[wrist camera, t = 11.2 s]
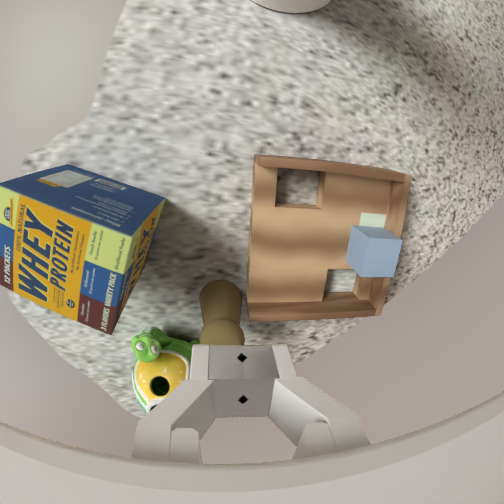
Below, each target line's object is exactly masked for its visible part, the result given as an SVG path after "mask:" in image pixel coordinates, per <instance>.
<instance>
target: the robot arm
mask: <svg viewBox="0 0 504 504" xmlns="http://www.w3.org/2000/svg"><path fill="white" fill-rule="evenodd" d="M252 1H253V2H255V3H257V4H259V5H261V6H264V7H266V8H269V9H272V10H276V11H281V12H287V13H304V12H310V11H314V10H317V9H320V8H322V7H324V6H325V5H327V4H328V3H329V2H330V1H331V0H252ZM263 416H269V417H268V418H269V419H270V420H271V421H272V422H273V423H274V424H275V425H276V426H277V427H278V428H279V429H280V430H281V431H282V432H283V433H284V434H285V435H286V436H287V437H288V438H289V439H290V440H291V441H292V442H293V443H294V444H295V446H297V449H296V452H295V455H294V457H293V459H292V460H285V461H276V462H264V463H247V464H203V463H202V456H201V449H200V440H201V438H202V437H203V436H204V434H205V433H206V432H207V430H208V429H209V427H210V426H211V425H212V423H213V422H214V420H215V418H228V417H263ZM0 504H504V391H503V392H502V393H500V394H499V395H496V396H494V397H493V398H491V399H489V400H487V401H485V402H483V403H481V404H479V405H477V406H475V407H473V408H471V409H469V410H467V411H464V412H462V413H460V414H458V415H455V416H453V417H451V418H448V419H446V420H444V421H441V422H439V423H436V424H434V425H431V426H428V427H426V428H423V429H420V430H417V431H415V432H412V433H409V434H406V435H403V436H399V437H396V438H393V439H389V440H386V441H383V442H379V443H375V444H372V445H371V444H370V442H369V440H368V438H367V435H366V433H365V431H364V428H363V426H362V424H361V422H360V420H359V418H358V415H357V414H355V413H354V412H353V411H351V410H349V409H348V408H346V407H345V406H344V405H342V404H341V403H339V402H338V401H336V400H335V399H333V398H332V397H330V396H329V395H327V394H326V393H325V392H323V391H322V390H320V389H319V388H317V387H316V386H314V385H313V384H312V383H310V382H309V381H308V380H306V379H305V378H303V377H298V376H297V373H296V370H295V367H294V363H293V360H292V357H291V354H290V351H289V348H288V345H287V344H286V343H283V344H271V345H210V344H209V345H205V344H193V347H192V356H191V368H190V379H185V380H184V381H183V382H182V383H180V384H179V385H178V386H177V387H176V388H175V389H174V390H173V391H172V392H171V393H170V394H169V395H168V396H167V397H166V398H164V399H163V400H162V401H161V402H160V403H159V404H158V405H157V406H156V407H155V408H154V409H152V410H151V411H150V412H149V413H148V414H147V415H146V416H145V417H144V418H143V419H141V420H140V421H139V422H138V424H137V430H136V435H135V440H134V445H133V450H132V456H131V458H129V457H123V456H117V455H111V454H106V453H101V452H96V451H92V450H87V449H83V448H79V447H74V446H71V445H67V444H63V443H60V442H57V441H53V440H50V439H47V438H44V437H40V436H38V435H35V434H32V433H29V432H26V431H24V430H21V429H18V428H16V427H13V426H11V425H8V424H6V423H3V422H1V421H0Z"/></svg>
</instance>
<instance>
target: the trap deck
mask: <svg viewBox="0 0 504 504" xmlns="http://www.w3.org/2000/svg"><path fill="white" fill-rule="evenodd" d="M278 167H279V168H292V169H304V170H314V171H320V174H319V184H318V193H317V202H316V205H306V204H289V203H275V197H276V185H277V172H278ZM410 182H411V175H407V174H404V173H400V172H396V171H393V170H389V169H383V168H377V167H370V166H364V165H357V164H350V163H342V162H334V161H326V160H317V159H308V158H297V157H286V156H273V155H258V154H255V155H254V170H253V186H252V202H251V218H250V234H249V250H248V266H247V283H246V305H247V311H248V317H249V321H291V320H317V319H336V318H352V317H365V316H378V315H381V312H382V308H383V305H384V302H385V298H386V295H387V291H388V288H389V284H390V280H391V277H360V276H359V275H358V274H357V275H356V280H355V284H354V289H353V292H326V293H324V288H325V283H326V277H327V272H328V269H352V268H351V266H350V265H349V264H348V263H347V262H346V261H345V259H346V254H347V249H348V243H349V238H350V233H351V227H352V225H357V226H369V227H381V228H385V229H386V230H388V231H389V232H391V233H392V234H394V235H396V236H397V237H399V238H401V233H402V228H403V223H404V218H405V213H406V207H407V201H408V195H409V188H410Z"/></svg>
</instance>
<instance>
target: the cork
mask: <svg viewBox="0 0 504 504" xmlns="http://www.w3.org/2000/svg"><path fill="white" fill-rule="evenodd" d="M200 305H201V311H202V318H203V324H204V327H203V329H202V331H201V333H200V344H205V345H209V344H210V345H244V342H245V338H244V333H243V330H242V329H241V327H240V326H239V324H240V314H241V305H242V295H241V292H240V290H239V288H238V287H237V286H236V285H234V284H233V283H231V282H228V281H224V280H218V281H213V282H211V283H209V284H207V285H206V286H205V287H204V288H203V289H202V291H201V293H200Z"/></svg>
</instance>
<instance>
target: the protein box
mask: <svg viewBox="0 0 504 504" xmlns="http://www.w3.org/2000/svg"><path fill="white" fill-rule="evenodd" d="M165 200H166V199H165V198H164V197H161V196H158V195H155V194H152V193H149V192H147V191H144V190H141V189H138V188H135V187H132V186H129V185H126V184H124V183H121V182H118V181H115V180H112V179H109V178H106V177H104V176H101V175H98V174H95V173H92V172H89V171H86V170H83V169H80V168H77V167H74V166H71V165H68V164H67V165H63V166H59V167H55V168H51V169H47V170H43V171H39V172H36V173H32V174H29V175H25V176H22V177H19V178H15V179H12V180H9V181H6V182H2V183H0V285H2V286H4V287H6V288H8V289H10V290H12V291H14V292H15V293H17V294H19V295H21V296H23V297H25V298H27V299H29V300H31V301H33V302H35V303H37V304H39V305H41V306H43V307H46V308H48V309H50V310H52V311H54V312H56V313H58V314H61V315H63V316H65V317H68V318H70V319H72V320H75V321H77V322H80V323H82V324H85V325H87V326H90V327H92V328H94V329H97V330H99V331H102V332H104V333H107V334H110V335H112V333H113V330H114V328H115V326H116V324H117V322H118V319H119V317H120V315H121V313H122V311H123V309H124V307H125V305H126V303H127V300H128V298H129V296H130V294H131V292H132V290H133V288H134V286H135V284H136V283H137V281H138V279H139V277H140V275H141V273H142V271H143V269H144V267H145V263H146V259H147V256H148V253H149V249H150V246H151V243H152V240H153V237H154V234H155V231H156V227H157V224H158V221H159V218H160V215H161V212H162V209H163V206H164V203H165Z"/></svg>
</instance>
